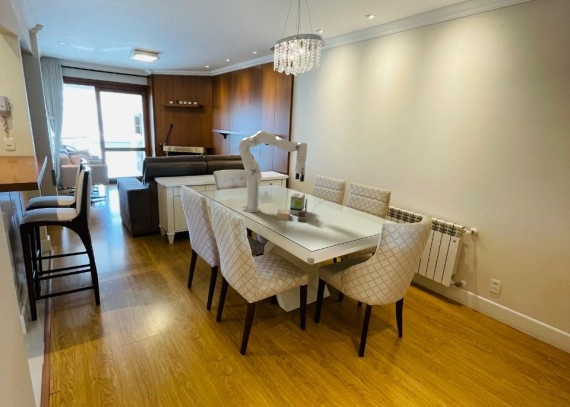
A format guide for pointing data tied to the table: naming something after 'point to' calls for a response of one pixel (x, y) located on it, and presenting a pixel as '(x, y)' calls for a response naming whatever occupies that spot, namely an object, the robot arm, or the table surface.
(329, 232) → the table surface
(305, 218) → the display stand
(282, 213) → the carton
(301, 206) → the tea box
